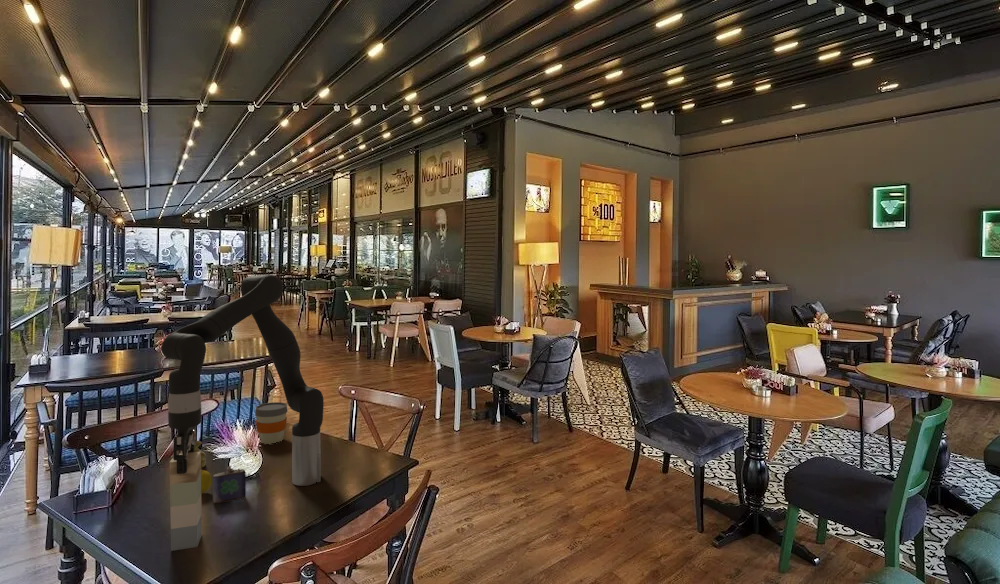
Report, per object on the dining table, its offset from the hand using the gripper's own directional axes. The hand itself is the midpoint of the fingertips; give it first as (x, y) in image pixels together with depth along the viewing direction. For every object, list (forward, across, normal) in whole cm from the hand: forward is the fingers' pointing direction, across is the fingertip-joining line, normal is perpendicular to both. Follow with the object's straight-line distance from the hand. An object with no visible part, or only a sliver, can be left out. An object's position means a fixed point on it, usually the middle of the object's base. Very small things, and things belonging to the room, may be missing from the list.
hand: (185, 466), depth 134 cm
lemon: (+21, +31, +2) cm, 38 cm away
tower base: (+21, 0, 0) cm, 21 cm away
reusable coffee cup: (+21, +77, -16) cm, 81 cm away
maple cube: (+3, 0, 0) cm, 3 cm away
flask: (+21, +24, -7) cm, 33 cm away
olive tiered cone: (+21, +56, +9) cm, 61 cm away
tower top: (+9, 0, 0) cm, 9 cm away
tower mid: (+15, 0, 0) cm, 15 cm away
